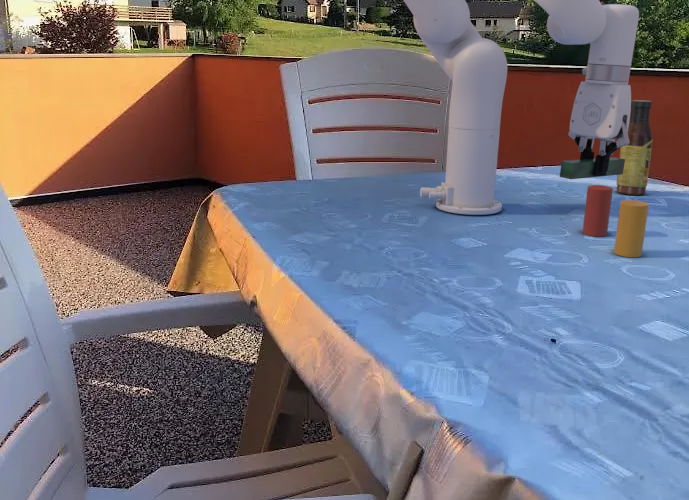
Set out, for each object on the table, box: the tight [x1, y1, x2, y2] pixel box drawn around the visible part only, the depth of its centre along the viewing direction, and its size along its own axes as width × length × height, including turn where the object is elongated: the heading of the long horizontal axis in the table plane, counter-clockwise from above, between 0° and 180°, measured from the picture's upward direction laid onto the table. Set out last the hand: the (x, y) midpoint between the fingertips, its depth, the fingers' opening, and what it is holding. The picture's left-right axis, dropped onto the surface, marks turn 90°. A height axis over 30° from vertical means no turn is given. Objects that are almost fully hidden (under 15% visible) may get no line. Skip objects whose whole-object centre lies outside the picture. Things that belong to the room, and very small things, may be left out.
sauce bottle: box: [616, 99, 654, 196], centre depth 152 cm, size 7×6×20 cm
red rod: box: [582, 184, 614, 237], centre depth 119 cm, size 4×4×8 cm
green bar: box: [559, 156, 625, 180], centre depth 135 cm, size 16×3×3 cm, turn 125°
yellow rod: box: [613, 199, 650, 258], centre depth 108 cm, size 4×4×8 cm
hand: (592, 173), depth 135 cm, fingers closed on green bar, 2 cm apart
